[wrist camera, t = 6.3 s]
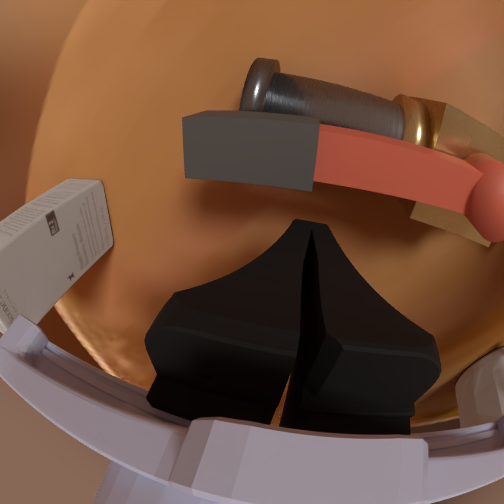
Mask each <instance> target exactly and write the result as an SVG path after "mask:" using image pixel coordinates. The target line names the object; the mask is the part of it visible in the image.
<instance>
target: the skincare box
mask: <svg viewBox="0 0 504 504" xmlns="http://www.w3.org/2000/svg"><path fill="white" fill-rule="evenodd" d="M112 246H113V236H112V231H111V225H110V219H109V214H108V208H107V203H106V198H105V192H104V187H103V184H102V182H101V181H99V180H88V179H67V180H65V181H63V182H62V183H60V184H58V185H56V186H55V187H53V188H51V189H50V190H48V191H46V192H45V193H43V194H41V195H40V196H38V197H36V198H35V199H33V200H32V201H30V202H28V203H27V204H25V205H24V206H22V207H21V208H19V209H18V210H16V211H15V212H14V213H12V214H11V215H9V216H8V217H7V218H5V219H4V220H2V221H1V222H0V332H1V333H2V334H4V333H5V332H6V331H7V329H8V328H9V327H10V326H11V324H12V323H13V322H14V321H15V319H16V318H17V317H18V316H19V315H23V316H25V317H26V318H28V319H29V320H31V321H32V322H34V323H35V324H38V322H39V321H40V320H41V319H42V318H43V317H44V316H45V314H46V313H47V312H48V311H49V310H50V309H51V308H52V307H53V305H54V304H55V303H56V302H57V301H58V300H59V299H60V298H61V297H62V296H63V295H64V294H65V293H66V291H67V290H68V289H69V288H70V287H71V286H72V285H73V284H74V283H75V282H76V281H77V280H78V279H79V278H80V277H81V276H82V275H83V274H84V273H85V272H86V271H87V270H88V269H89V268H90V267H91V266H92V265H93V264H94V263H95V262H96V261H97V260H98V259H99V258H100V257H101V256H102V255H104V254H105V253H106V252H107V251H108V250H109V249H110V248H111V247H112Z"/></svg>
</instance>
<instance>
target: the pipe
mask: <svg viewBox="0 0 504 504" xmlns="http://www.w3.org/2000/svg"><path fill="white" fill-rule="evenodd" d="M239 111H250V112H267V113H279V114H290V115H299V116H307V117H315V118H319V122H320V124H324V125H331V126H337V127H343V128H348V129H354V130H359V131H364V132H368V133H373V134H377V135H382V136H386V137H390V138H394V139H398V140H402V141H403V139H404V133H405V113H404V109H403V107H402V105H400V104H398V103H395V102H393V101H390V100H387V99H384V98H381V97H378V96H375V95H372V94H369V93H366V92H363V91H359V90H356V89H352V88H349V87H345V86H341V85H337V84H333V83H329V82H325V81H321V80H316V79H312V78H307V77H302V76H296V75H291V74H285V73H280V64H279V61H278V60H273V59H265V58H257V59H255V61H254V62H253V63H252V65H251V67H250V69H249V72H248V74H247V77H246V81H245V84H244V88H243V92H242V97H241V103H240V110H239Z"/></svg>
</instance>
